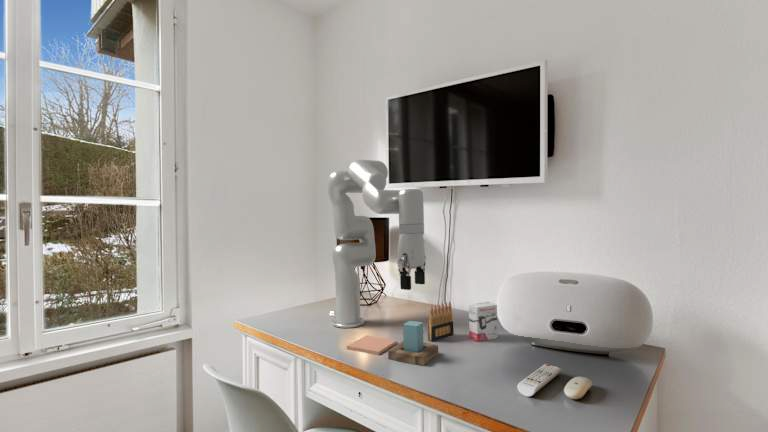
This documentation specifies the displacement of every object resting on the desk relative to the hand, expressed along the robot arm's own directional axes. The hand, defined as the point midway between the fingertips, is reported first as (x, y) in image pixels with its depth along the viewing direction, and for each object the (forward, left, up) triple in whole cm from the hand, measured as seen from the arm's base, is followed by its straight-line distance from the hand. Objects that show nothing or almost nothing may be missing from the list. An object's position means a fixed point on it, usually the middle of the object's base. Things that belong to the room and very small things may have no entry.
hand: (413, 286), depth 121 cm
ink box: (+14, +26, -22) cm, 37 cm away
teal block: (0, 0, -21) cm, 21 cm away
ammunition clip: (+1, +20, -22) cm, 29 cm away
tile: (-16, +2, -21) cm, 27 cm away
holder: (0, 0, -21) cm, 21 cm away
